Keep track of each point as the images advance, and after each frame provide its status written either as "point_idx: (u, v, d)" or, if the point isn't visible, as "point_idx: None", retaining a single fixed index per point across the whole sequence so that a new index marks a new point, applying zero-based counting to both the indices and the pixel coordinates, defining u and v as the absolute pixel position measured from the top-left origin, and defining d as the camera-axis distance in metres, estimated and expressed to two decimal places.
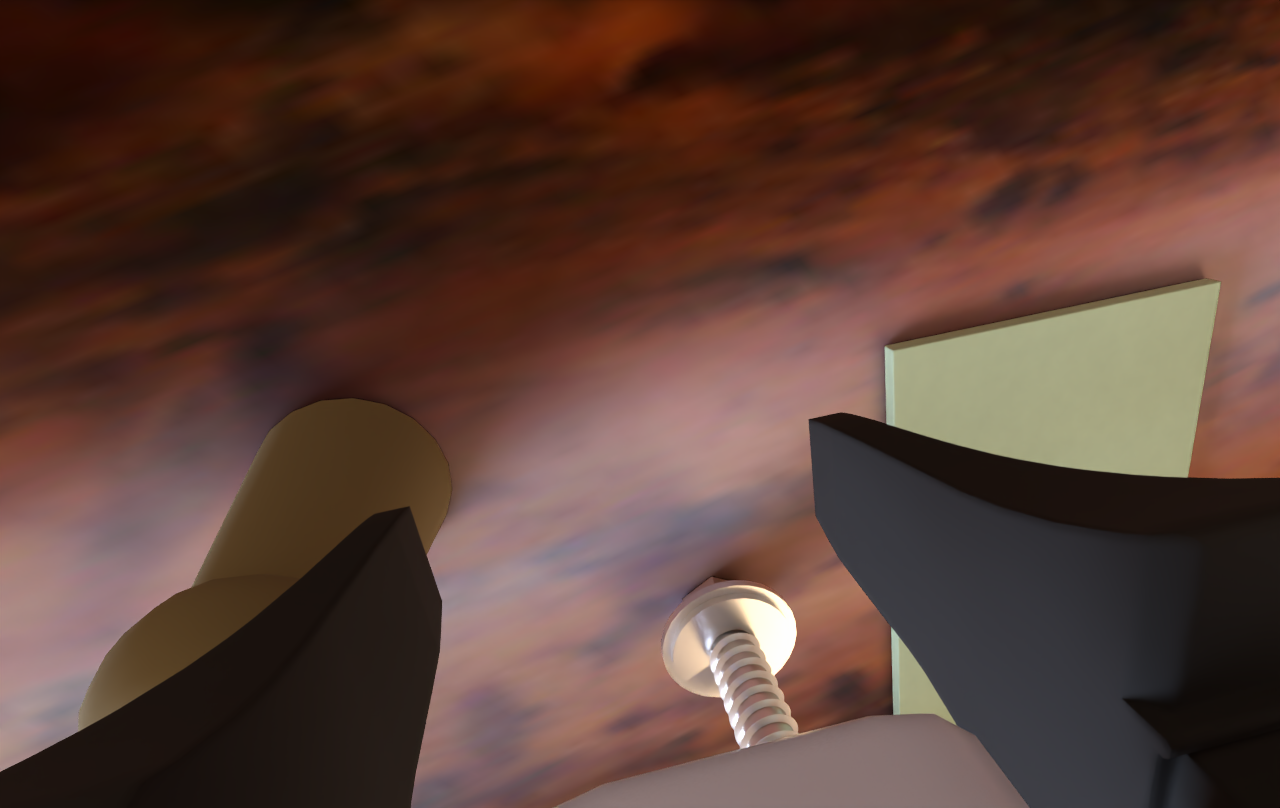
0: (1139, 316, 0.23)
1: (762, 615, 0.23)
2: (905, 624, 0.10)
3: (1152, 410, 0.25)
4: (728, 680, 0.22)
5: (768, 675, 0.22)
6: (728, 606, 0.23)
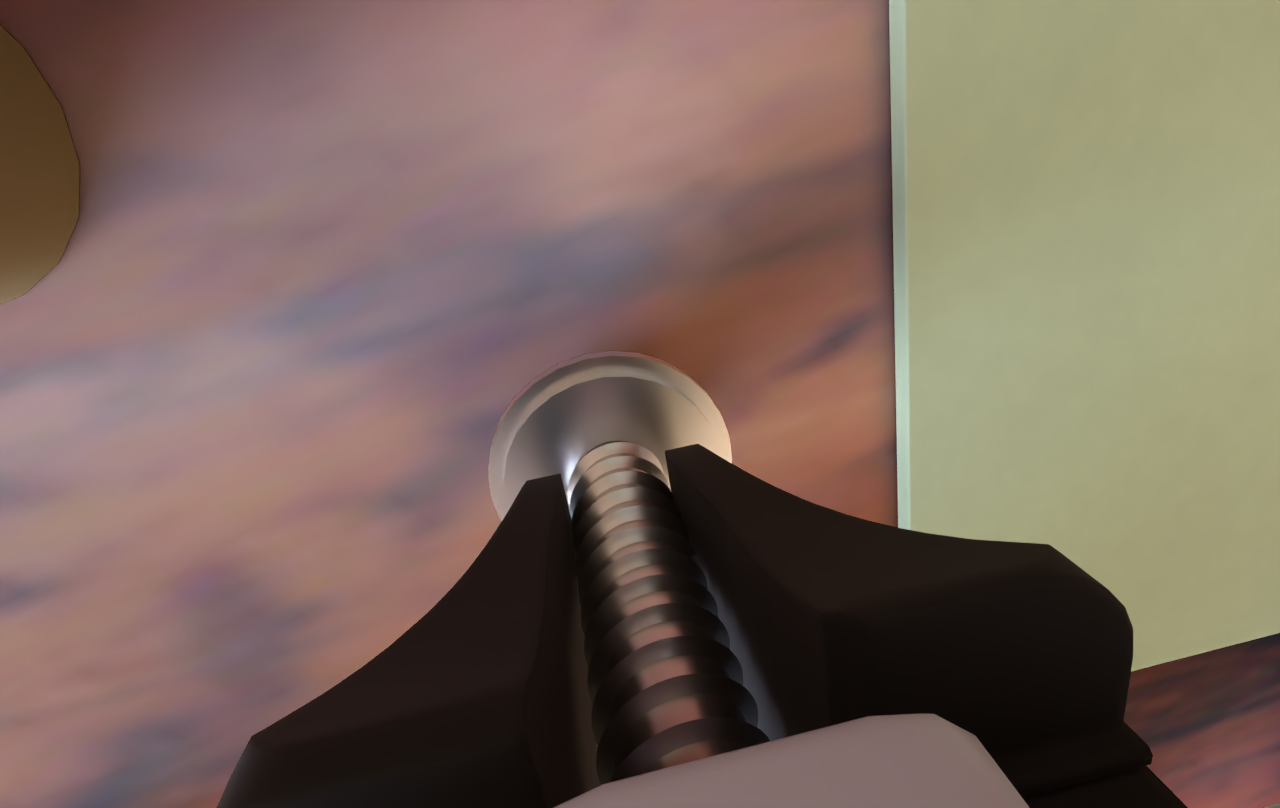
0: None
1: (665, 414, 0.13)
2: None
3: None
4: None
5: (661, 499, 0.11)
6: (600, 392, 0.12)
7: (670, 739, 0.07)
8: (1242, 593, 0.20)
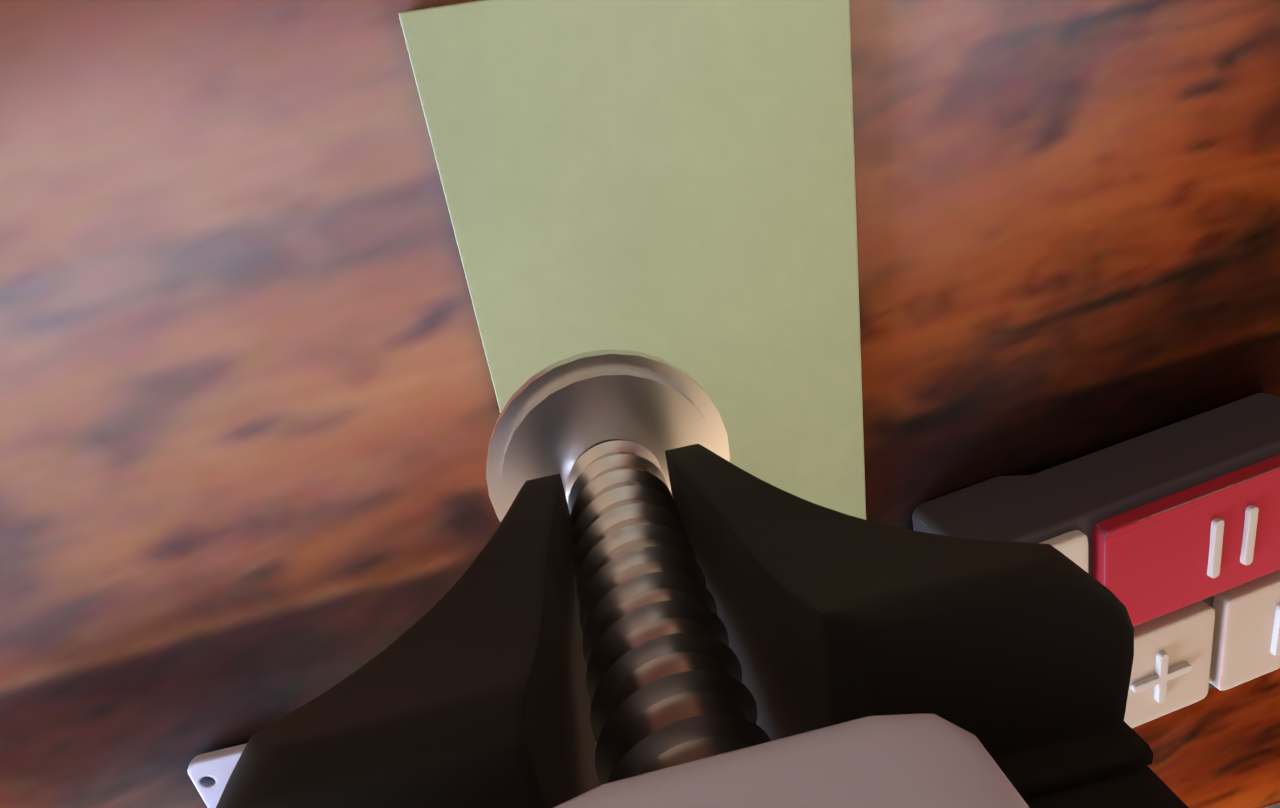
0: None
1: (663, 412, 0.13)
2: None
3: (788, 133, 0.20)
4: None
5: (659, 497, 0.11)
6: (598, 390, 0.12)
7: (669, 736, 0.07)
8: None
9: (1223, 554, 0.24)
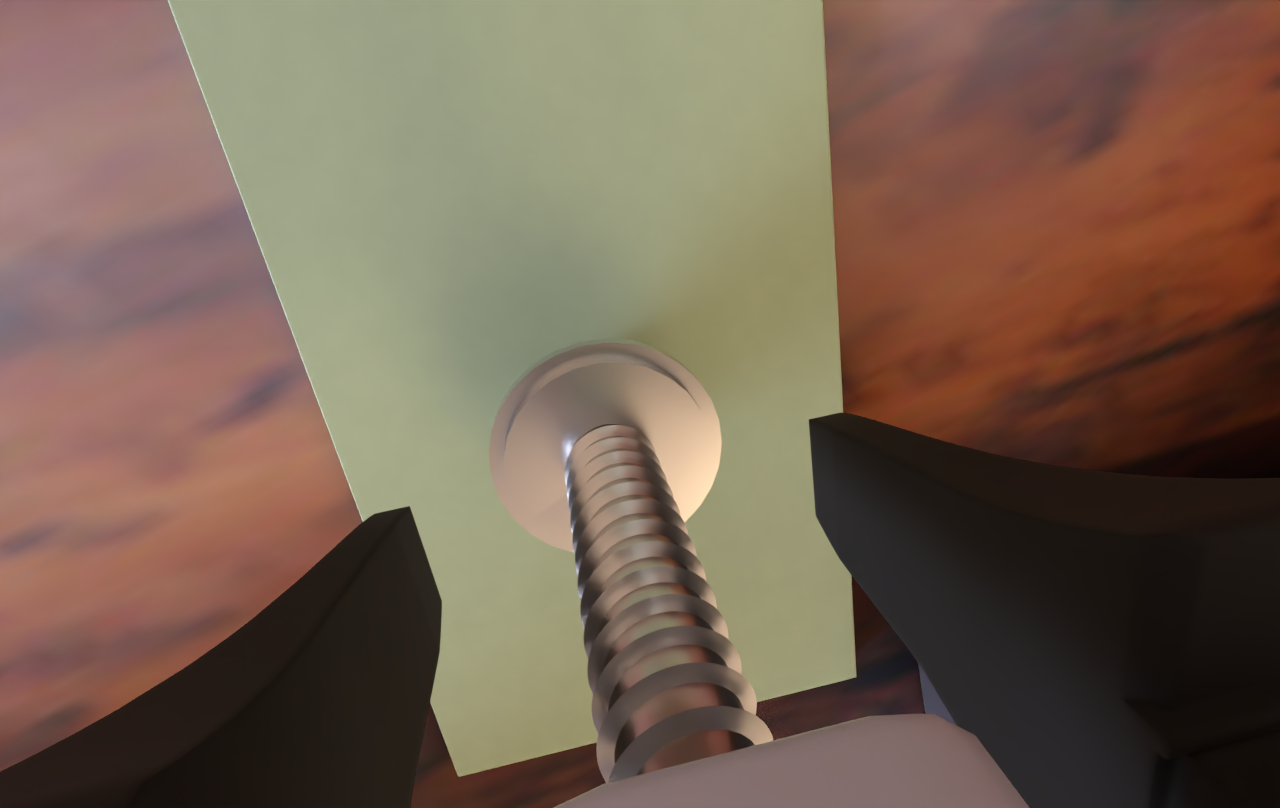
0: None
1: (658, 399, 0.13)
2: (905, 624, 0.10)
3: (739, 140, 0.14)
4: None
5: (653, 477, 0.12)
6: (595, 377, 0.13)
7: (659, 680, 0.07)
8: (795, 640, 0.19)
9: None
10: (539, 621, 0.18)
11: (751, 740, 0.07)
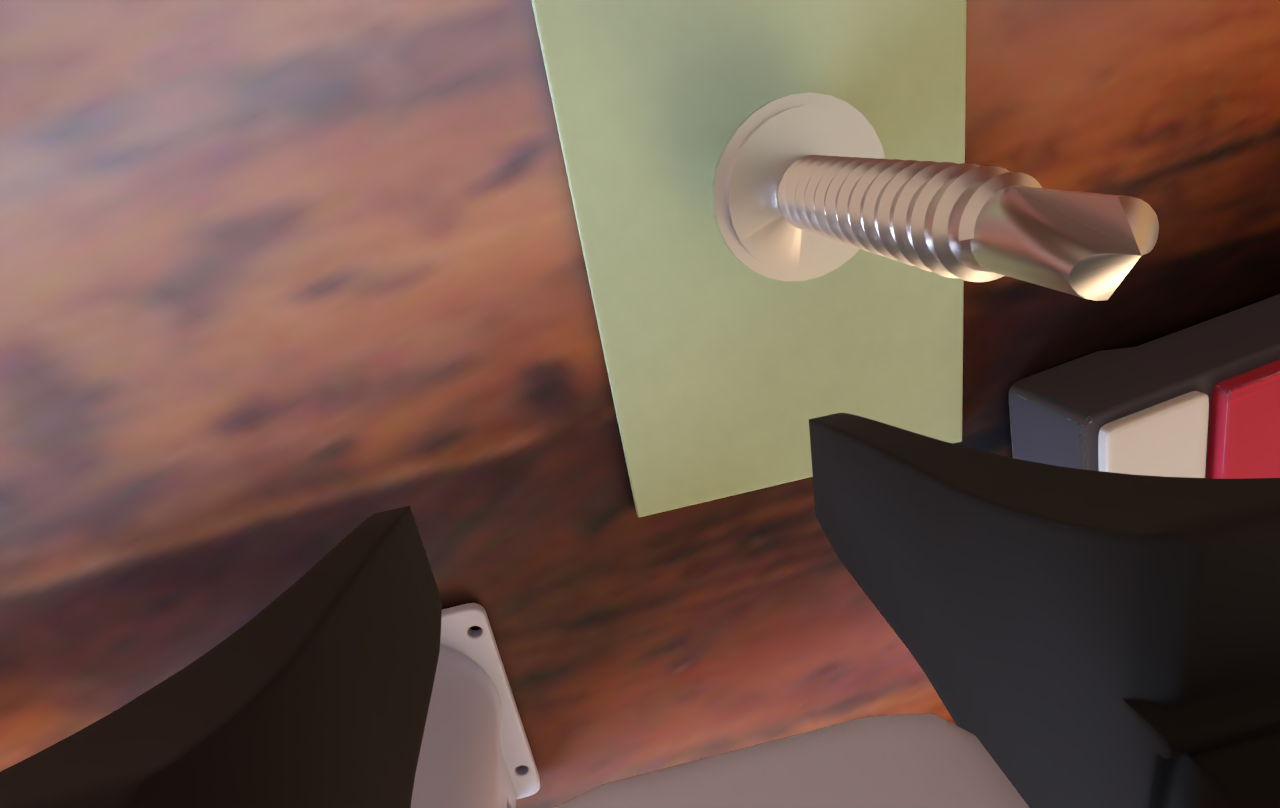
0: None
1: (846, 138, 0.18)
2: (905, 624, 0.10)
3: None
4: (808, 182, 0.16)
5: None
6: (802, 117, 0.17)
7: (953, 171, 0.11)
8: (915, 402, 0.24)
9: None
10: (714, 372, 0.22)
11: None
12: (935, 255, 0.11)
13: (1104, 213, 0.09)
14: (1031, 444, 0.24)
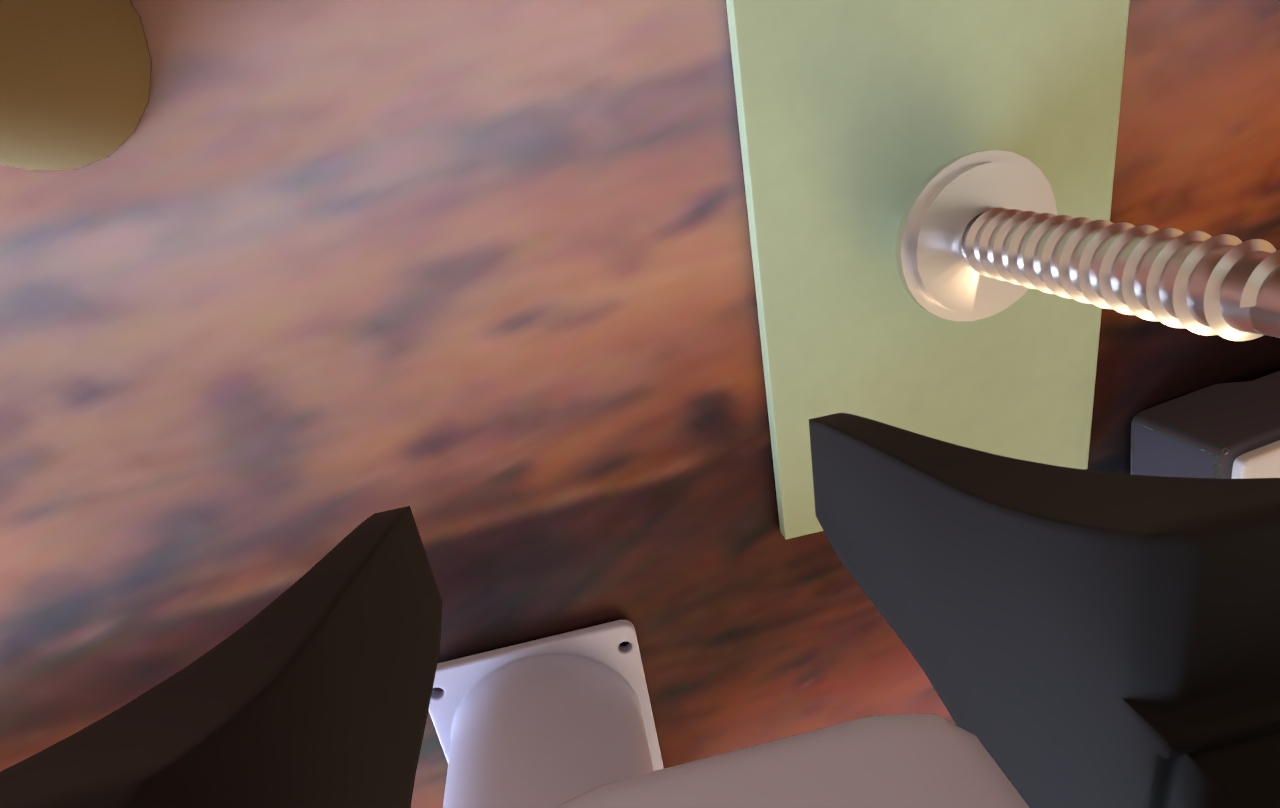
0: None
1: (1026, 192, 0.19)
2: (905, 624, 0.10)
3: (1067, 16, 0.20)
4: (1008, 235, 0.17)
5: None
6: (990, 172, 0.19)
7: (1214, 241, 0.13)
8: (1048, 432, 0.25)
9: None
10: (868, 403, 0.23)
11: None
12: (1195, 316, 0.13)
13: None
14: (1155, 472, 0.25)
